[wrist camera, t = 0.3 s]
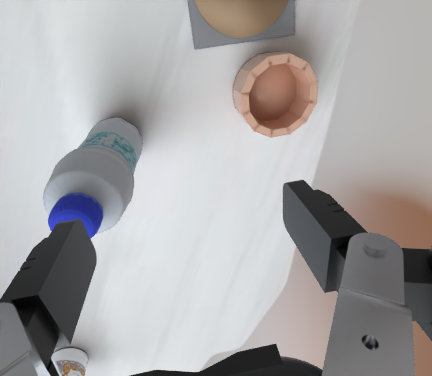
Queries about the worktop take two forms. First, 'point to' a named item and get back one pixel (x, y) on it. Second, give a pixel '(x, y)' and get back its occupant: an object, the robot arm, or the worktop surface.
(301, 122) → the bowl
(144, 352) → the worktop surface
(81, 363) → the bath foam
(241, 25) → the lid
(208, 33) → the felt pad
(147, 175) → the worktop surface
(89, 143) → the bottle
